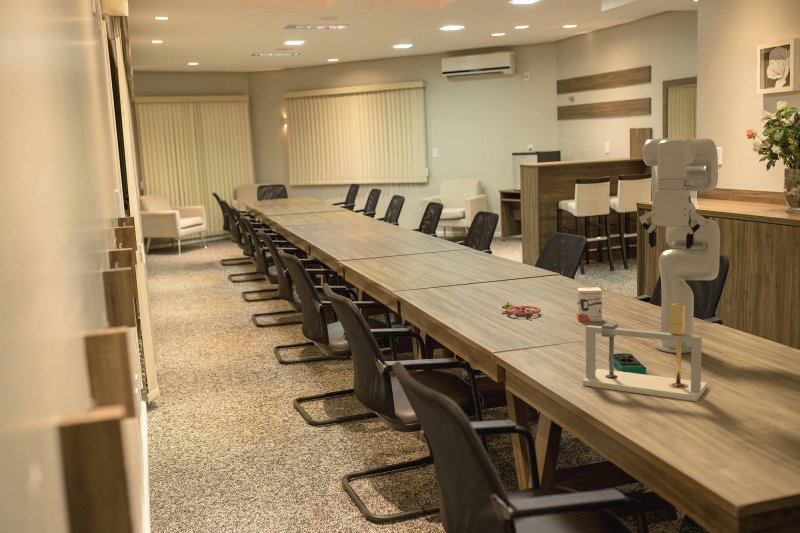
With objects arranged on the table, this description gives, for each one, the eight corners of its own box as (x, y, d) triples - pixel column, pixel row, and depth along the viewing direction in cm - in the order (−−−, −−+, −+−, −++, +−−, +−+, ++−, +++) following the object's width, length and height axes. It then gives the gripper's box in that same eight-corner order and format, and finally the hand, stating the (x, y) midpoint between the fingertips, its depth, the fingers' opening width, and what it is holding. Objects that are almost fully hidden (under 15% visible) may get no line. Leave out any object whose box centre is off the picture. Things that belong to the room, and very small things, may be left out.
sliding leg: (673, 381, 211) (674, 302, 207) (684, 383, 209) (686, 303, 206) (668, 386, 207) (669, 305, 204) (680, 387, 206) (682, 306, 202)
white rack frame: (597, 373, 228) (597, 316, 225) (707, 387, 211) (708, 326, 209) (582, 385, 218) (582, 326, 215) (696, 401, 201) (697, 337, 199)
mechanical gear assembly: (511, 323, 294) (551, 321, 296) (512, 312, 293) (551, 311, 295) (492, 306, 323) (528, 305, 325) (492, 296, 323) (528, 295, 325)
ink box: (578, 321, 290) (578, 290, 288) (576, 318, 295) (576, 287, 293) (602, 321, 290) (602, 289, 288) (599, 318, 294) (599, 287, 293)
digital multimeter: (632, 361, 240) (632, 352, 239) (646, 376, 225) (647, 366, 225) (607, 362, 240) (607, 353, 239) (621, 377, 225) (621, 367, 225)
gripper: (708, 184, 214) (706, 246, 217) (643, 184, 224) (643, 244, 226) (701, 186, 208) (700, 250, 211) (635, 186, 217) (635, 248, 220)
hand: (670, 247), depth 219 cm, fingers open, 9 cm apart
